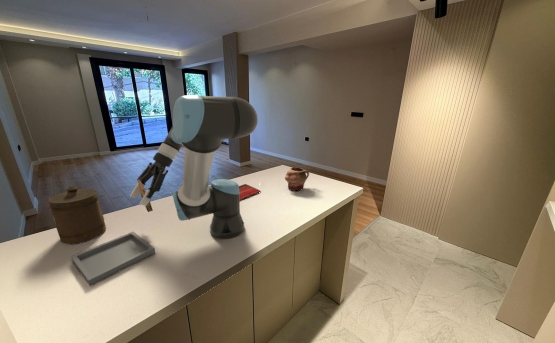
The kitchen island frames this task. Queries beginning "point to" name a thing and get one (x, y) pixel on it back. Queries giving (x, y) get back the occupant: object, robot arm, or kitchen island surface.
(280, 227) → the kitchen island surface
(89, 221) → the wooden container
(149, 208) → the ammunition clip
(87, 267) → the tray
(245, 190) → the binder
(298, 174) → the brown ceramic jug
